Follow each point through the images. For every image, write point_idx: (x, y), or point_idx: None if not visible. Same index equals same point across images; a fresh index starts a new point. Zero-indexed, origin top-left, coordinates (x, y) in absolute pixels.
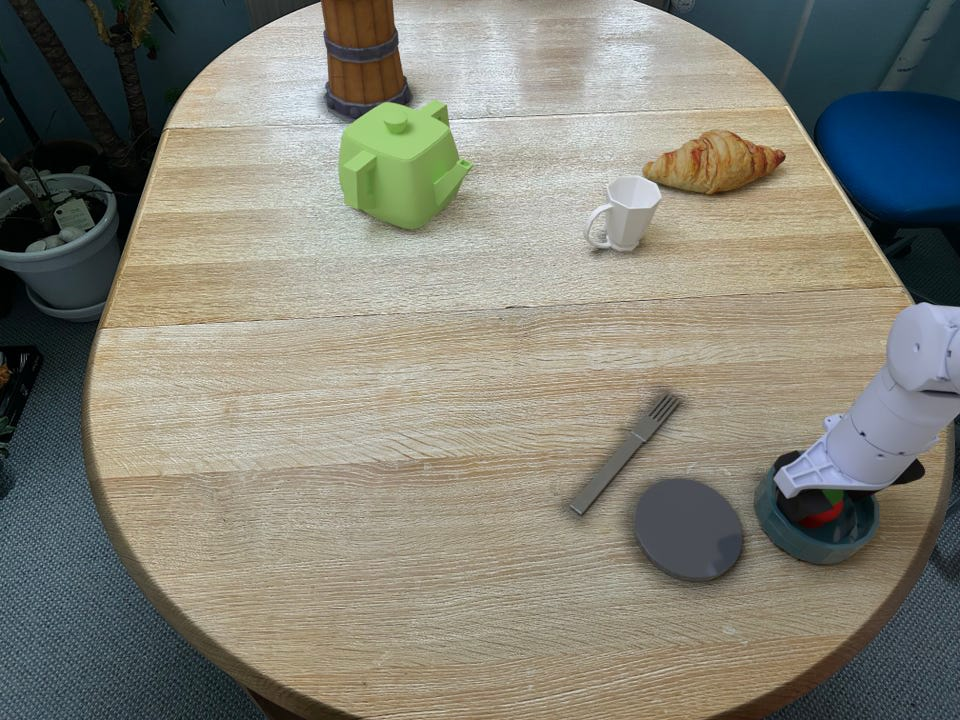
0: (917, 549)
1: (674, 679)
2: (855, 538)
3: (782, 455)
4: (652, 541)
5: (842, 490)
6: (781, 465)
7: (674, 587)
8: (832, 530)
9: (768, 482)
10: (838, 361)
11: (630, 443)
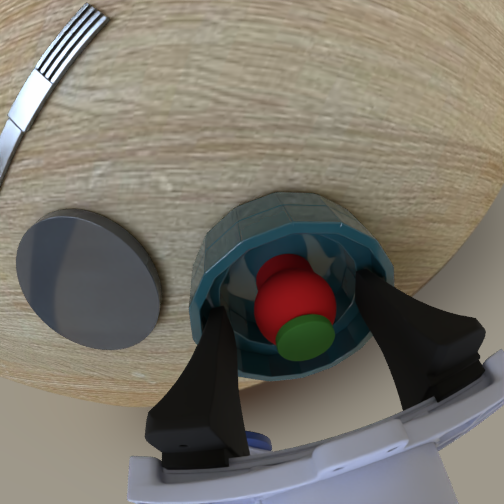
0: None
1: (92, 391)
2: None
3: (161, 432)
4: (42, 308)
5: (331, 343)
6: (154, 442)
7: None
8: None
9: (198, 295)
10: (465, 13)
11: (4, 141)
